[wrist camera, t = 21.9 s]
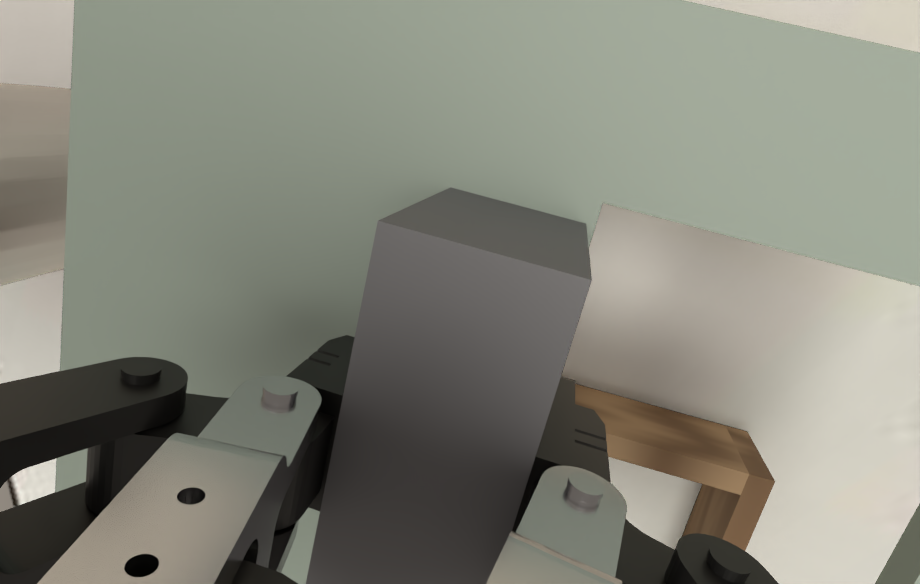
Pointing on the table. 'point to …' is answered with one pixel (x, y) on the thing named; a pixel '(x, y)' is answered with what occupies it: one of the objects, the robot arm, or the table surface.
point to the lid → (445, 216)
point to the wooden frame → (689, 460)
